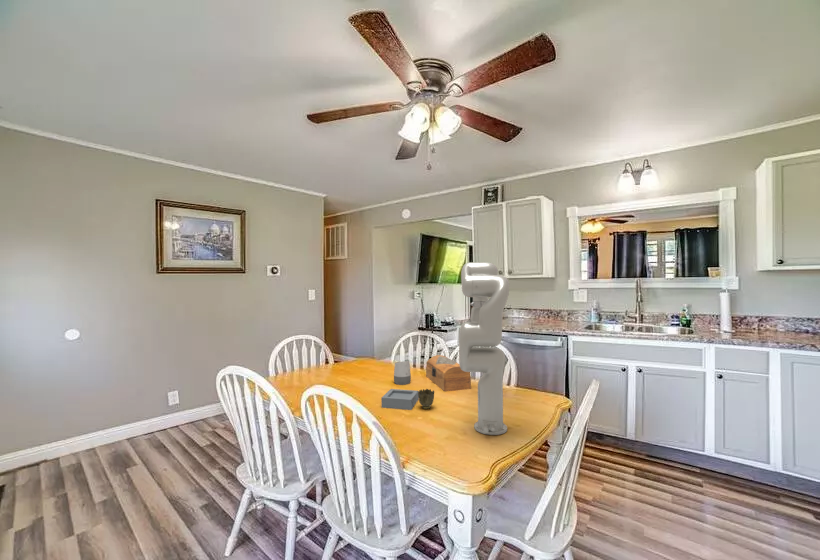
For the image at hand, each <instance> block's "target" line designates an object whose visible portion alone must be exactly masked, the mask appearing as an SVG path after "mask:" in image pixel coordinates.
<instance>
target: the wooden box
mask: <svg viewBox="0 0 820 560" xmlns="http://www.w3.org/2000/svg"><path fill="white" fill-rule="evenodd" d="M425 364H426V366H425V377H426V378H428V379H429V380H430V381H431V382H432V383H433V384H435V385H436V386H437V387H439V388H440V390H441V391H443V392H444V393H445V392H454V391H463V390H464V391H465V390H471V389H472V381H471V380H472V379H471V378H472V376H471V372H465V371H463V370H461V368H460V365H459V363H458V362H457V361H456V360H453V359H451V358H450V357H447V356H445V355H441V354H436V355H434V356H431V358H429V359H428V360H427V361H426V363H425Z"/></svg>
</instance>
